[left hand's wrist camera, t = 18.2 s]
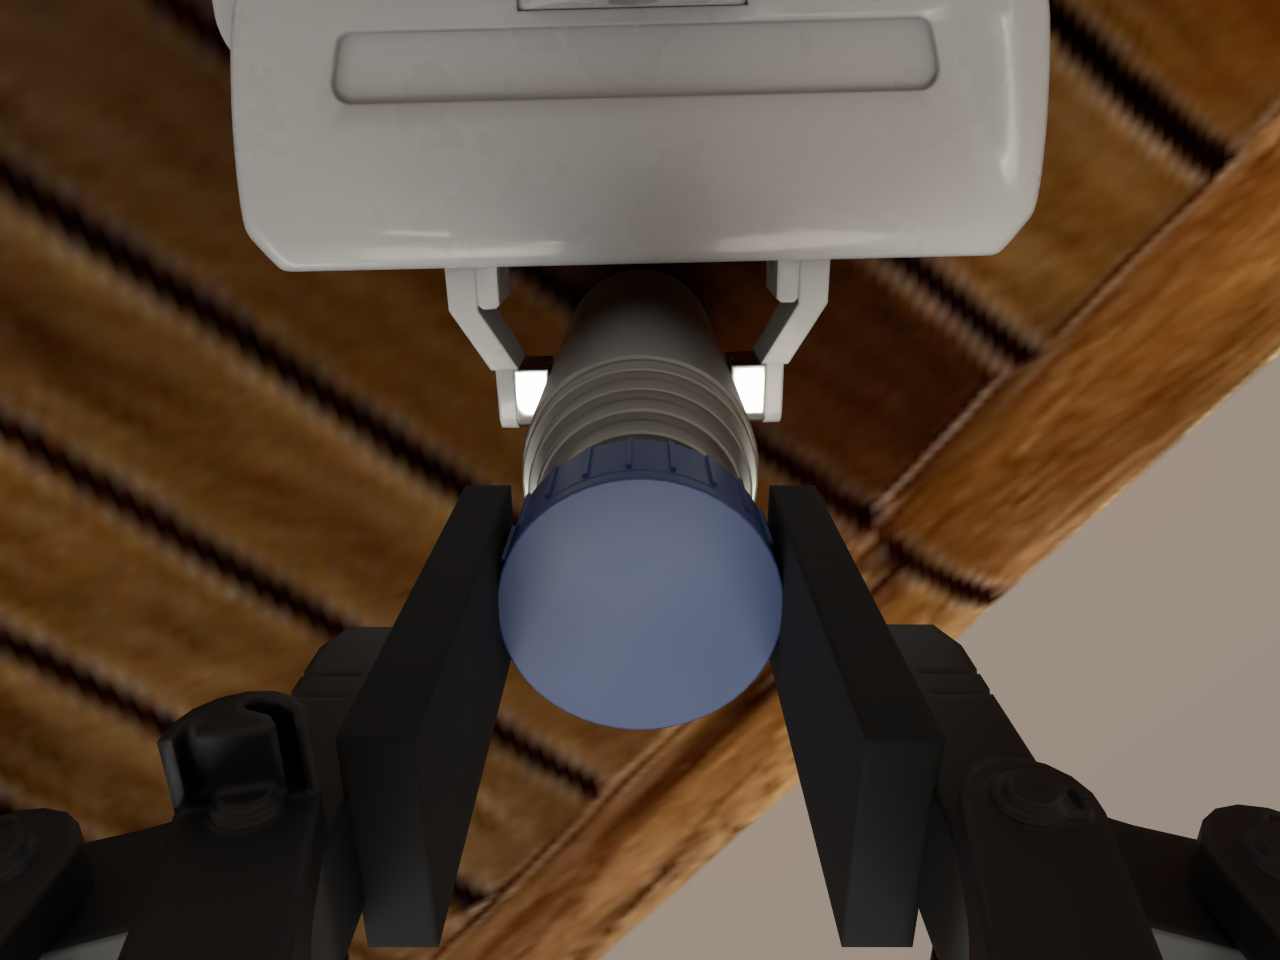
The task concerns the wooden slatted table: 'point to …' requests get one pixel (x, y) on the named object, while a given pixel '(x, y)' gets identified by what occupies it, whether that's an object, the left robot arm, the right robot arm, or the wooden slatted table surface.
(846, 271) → the wooden slatted table surface
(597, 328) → the bottle
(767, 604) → the cap
